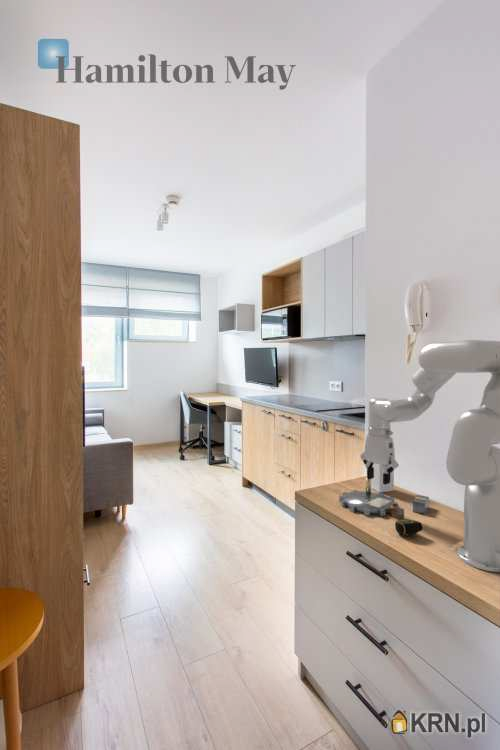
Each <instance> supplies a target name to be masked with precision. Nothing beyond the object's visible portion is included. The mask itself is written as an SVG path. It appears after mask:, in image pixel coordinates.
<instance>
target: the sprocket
mask: <svg viewBox="0 0 500 750" xmlns="http://www.w3.org/2000/svg"><path fill="white" fill-rule="evenodd" d="M338 501H339V502H340V501H341V502H340V506H341V507H342V508H348V509H349V512H352V513H359V514H363V515H364V516H367V517H371V516H370V515H374V516H379V517H386V514H391V515H392V508H393V507H399V503H398V501H395V498H394V497H393V496H387V495H385V493H384V492H381V493H379V492H373V491H372V488H371V479H367V477H365V490H364V491H363V490H361V491H360V490H357V489H355V490H354V489H353V490H352V491H350V492H349V491H344V492H342V495H339V496H338Z"/></svg>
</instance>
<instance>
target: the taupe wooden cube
mask: <svg viewBox="0 0 500 750" xmlns="http://www.w3.org/2000/svg"><path fill="white" fill-rule="evenodd" d="M391 517H393V518H395V519H398V520H403V519H404V518H405V508H402V507H399V506H398V507H393V508H392V514H391Z"/></svg>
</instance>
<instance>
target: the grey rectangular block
mask: <svg viewBox="0 0 500 750" xmlns="http://www.w3.org/2000/svg"><path fill="white" fill-rule="evenodd" d="M429 507H430V496H426V495H421V494H417V495H416V496H415V497H414V499H413V501H412V512H413V513H417V514H422V515H425V514H427V512H428V509H429Z"/></svg>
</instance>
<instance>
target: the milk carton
mask: <svg viewBox="0 0 500 750" xmlns="http://www.w3.org/2000/svg"><path fill="white" fill-rule="evenodd" d="M390 466H392V464H390ZM373 467H374V478H372V479H371V490H374V491H376V492H377V493H386V492H387V493H388V492H394V490H395V485H394V483H395V470H394V471H392V473H390V483H389V484H386V485H384V484H383V473H385V472H384V469H383V465H380V464H376V463H374V464H373ZM387 469H388V468H387Z"/></svg>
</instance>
